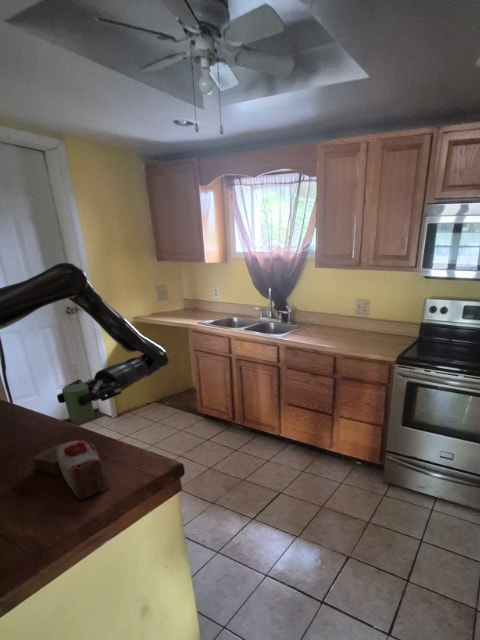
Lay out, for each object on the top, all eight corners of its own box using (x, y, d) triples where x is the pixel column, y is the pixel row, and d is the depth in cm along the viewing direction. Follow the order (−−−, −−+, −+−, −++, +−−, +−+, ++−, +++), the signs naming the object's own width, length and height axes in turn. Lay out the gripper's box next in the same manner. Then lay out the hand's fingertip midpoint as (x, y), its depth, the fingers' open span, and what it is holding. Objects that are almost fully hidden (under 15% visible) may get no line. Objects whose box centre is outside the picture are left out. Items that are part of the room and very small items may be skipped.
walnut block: (35, 470, 90) (31, 457, 88) (61, 455, 96) (57, 443, 94) (58, 475, 88) (54, 463, 86) (82, 460, 94) (79, 448, 92)
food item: (58, 475, 88) (48, 439, 84) (95, 463, 93) (86, 428, 89) (75, 503, 79) (64, 463, 75) (114, 487, 84) (106, 449, 80)
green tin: (70, 423, 92) (61, 393, 88) (70, 414, 96) (62, 386, 93) (95, 418, 94) (88, 389, 91) (94, 410, 99) (87, 382, 95)
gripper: (93, 363, 106) (41, 383, 91) (136, 367, 102) (90, 389, 87) (99, 387, 109) (49, 411, 94) (141, 392, 105) (97, 418, 90)
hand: (69, 400), depth 91 cm, fingers closed on green tin, 5 cm apart
